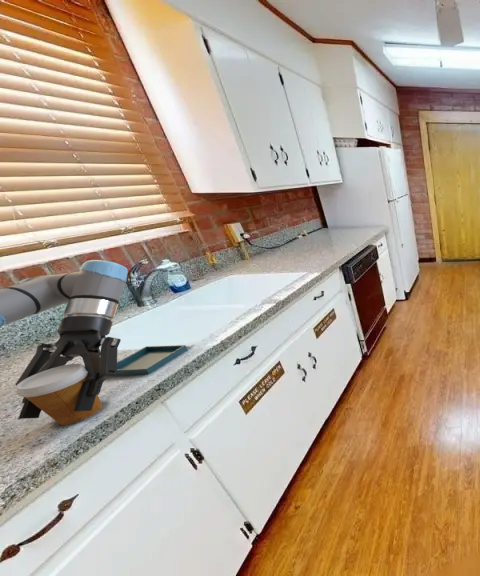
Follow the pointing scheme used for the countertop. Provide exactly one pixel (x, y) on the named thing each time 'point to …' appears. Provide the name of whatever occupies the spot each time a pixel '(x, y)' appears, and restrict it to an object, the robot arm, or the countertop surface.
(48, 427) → the countertop surface
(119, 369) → the cup tray
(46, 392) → the disposable coffee cup
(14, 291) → the robot arm
